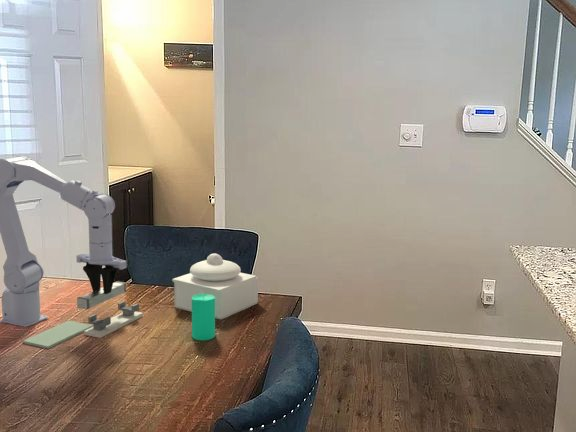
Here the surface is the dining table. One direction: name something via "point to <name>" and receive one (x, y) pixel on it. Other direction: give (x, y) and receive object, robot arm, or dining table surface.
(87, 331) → the standards
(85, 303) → the rail
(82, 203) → the robot arm
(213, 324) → the candle
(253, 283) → the butter dish
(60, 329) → the mat
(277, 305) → the dining table surface
